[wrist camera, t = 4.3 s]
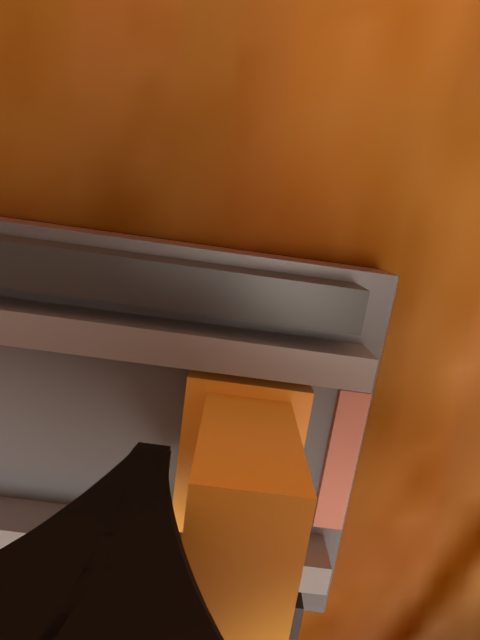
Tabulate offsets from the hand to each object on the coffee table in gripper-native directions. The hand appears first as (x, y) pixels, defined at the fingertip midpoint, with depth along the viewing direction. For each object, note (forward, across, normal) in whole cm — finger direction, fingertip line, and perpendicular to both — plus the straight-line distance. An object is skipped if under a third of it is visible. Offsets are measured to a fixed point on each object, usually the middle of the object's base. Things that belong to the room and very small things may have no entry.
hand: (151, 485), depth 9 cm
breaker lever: (+2, -2, 0) cm, 3 cm away
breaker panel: (+4, +2, 0) cm, 4 cm away
